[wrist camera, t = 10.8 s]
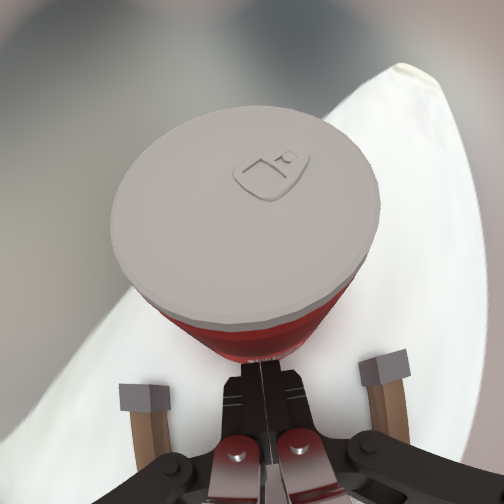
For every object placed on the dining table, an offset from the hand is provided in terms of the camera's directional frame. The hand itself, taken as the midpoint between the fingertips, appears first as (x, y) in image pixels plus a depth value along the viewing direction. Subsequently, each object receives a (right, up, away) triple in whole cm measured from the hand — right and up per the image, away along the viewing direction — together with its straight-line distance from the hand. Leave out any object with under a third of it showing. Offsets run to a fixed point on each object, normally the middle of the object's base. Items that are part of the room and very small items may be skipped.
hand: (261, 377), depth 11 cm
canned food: (0, +2, +7) cm, 7 cm away
